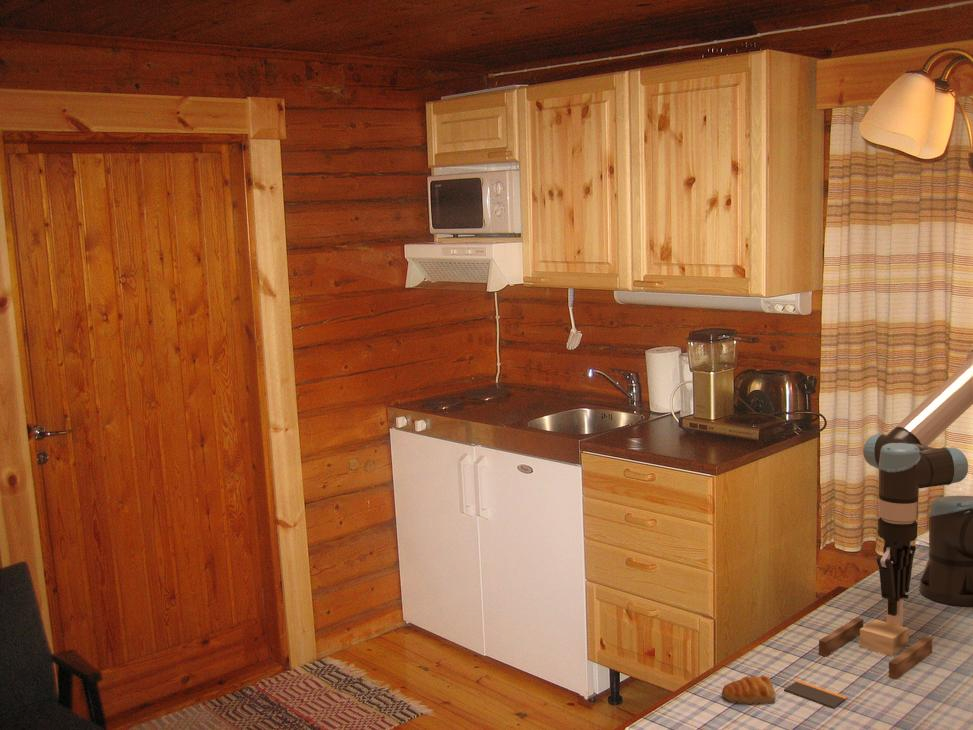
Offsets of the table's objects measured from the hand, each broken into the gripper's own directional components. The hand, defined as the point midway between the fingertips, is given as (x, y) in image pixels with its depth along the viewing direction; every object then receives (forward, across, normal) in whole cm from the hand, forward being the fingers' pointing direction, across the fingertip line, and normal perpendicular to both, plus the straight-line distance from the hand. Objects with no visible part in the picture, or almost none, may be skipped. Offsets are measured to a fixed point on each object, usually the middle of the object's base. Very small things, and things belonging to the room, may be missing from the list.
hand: (894, 628), depth 202 cm
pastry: (+3, +42, -8) cm, 42 cm away
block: (+3, +4, 0) cm, 5 cm away
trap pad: (+3, +33, 0) cm, 33 cm away
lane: (+3, +9, 0) cm, 9 cm away
